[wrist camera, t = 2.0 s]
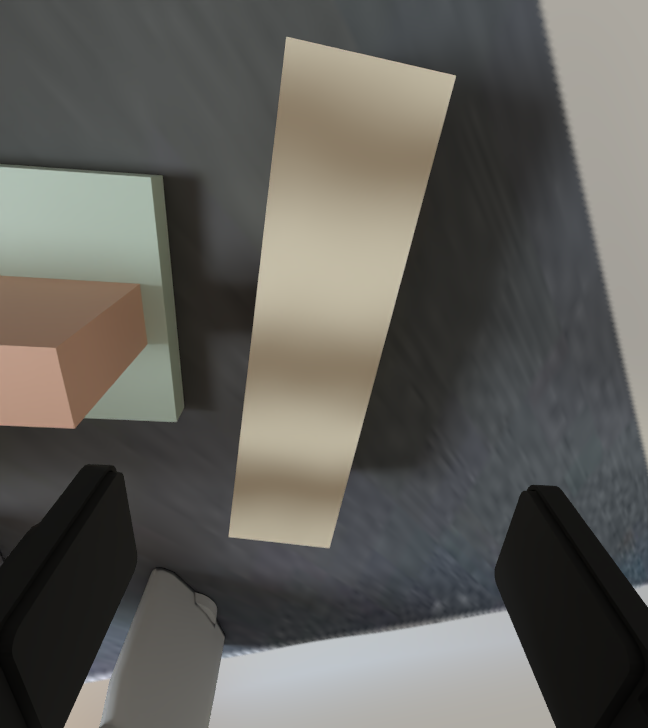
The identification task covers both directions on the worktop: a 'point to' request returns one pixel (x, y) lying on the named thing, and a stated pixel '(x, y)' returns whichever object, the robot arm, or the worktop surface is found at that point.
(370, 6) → the worktop surface
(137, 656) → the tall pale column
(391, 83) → the beam
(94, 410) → the ridge stand
